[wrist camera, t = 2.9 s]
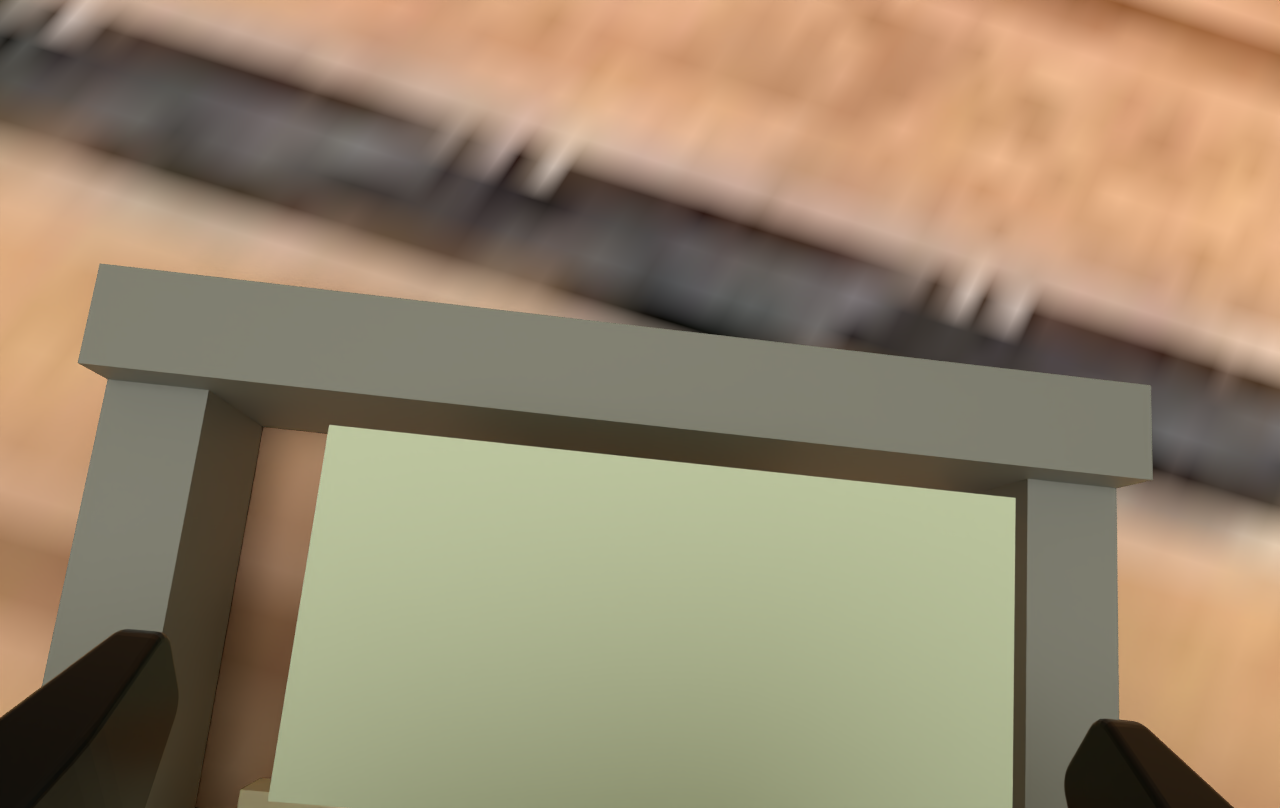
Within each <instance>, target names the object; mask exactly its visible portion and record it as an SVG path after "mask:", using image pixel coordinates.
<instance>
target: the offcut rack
mask: <svg viewBox="0 0 1280 808" xmlns="http://www.w3.org/2000/svg"><path fill="white" fill-rule="evenodd" d="M78 363H79V364H81V365H83V366H84V367H86V368H88V369H90V370H92V371H94V372H95V373H97V374H99V375H101V376H103V377H105V378H106V379H108V381H107V385H106V390H105V395H104V399H103V404H102V409H101V413H100V418H99V423H98V427H97V432H96V437H95V441H94V446H93V451H92V455H91V460H90V465H89V469H88V474H87V478H86V483H85V488H84V492H83V497H82V502H81V506H80V511H79V516H78V520H77V525H76V530H75V534H74V539H73V544H72V548H71V553H70V558H69V562H68V567H67V572H66V576H65V581H64V586H63V590H62V595H61V600H60V604H59V609H58V614H57V618H56V623H55V628H54V632H53V637H52V642H51V646H50V651H49V655H48V660H47V665H46V669H45V674H44V679H43V683H42V686H43V685H45V684H46V683H48V682H49V681H50V680H52V679H53V678H54V677H56V676H57V675H58V674H60V673H61V672H62V671H64V670H65V669H66V668H68V667H69V666H70V665H72V664H73V663H74V662H76V661H77V660H78V659H80V658H81V657H82V656H84V655H85V654H86V653H88V652H89V651H90V650H92V649H93V648H94V647H96V646H97V645H98V644H100V643H101V642H103V641H104V640H105V639H107V638H108V637H109V636H111V635H112V634H114V633H115V632H118V631H120V630H123V629H136V630H147V631H157V632H162V633H164V634H166V635H167V637H168V638H169V640H170V643H171V647H172V653H173V659H174V664H175V670H176V676H177V682H178V687H179V704H178V709H177V714H176V717H175V721H174V724H173V727H172V730H171V733H170V736H169V739H168V742H167V745H166V748H165V751H164V754H163V757H162V760H161V763H160V766H159V769H158V772H157V775H156V778H155V781H154V784H153V787H152V790H151V793H150V796H149V799H148V802H147V805H146V808H195V804H196V799H197V793H198V788H199V782H200V776H201V771H202V765H203V760H204V754H205V748H206V743H207V737H208V731H209V726H210V720H211V715H212V709H213V703H214V698H215V692H216V686H217V681H218V675H219V670H220V664H221V658H222V653H223V647H224V641H225V636H226V630H227V625H228V619H229V613H230V608H231V602H232V597H233V591H234V585H235V580H236V574H237V568H238V563H239V557H240V552H241V546H242V540H243V535H244V529H245V523H246V518H247V512H248V507H249V501H250V495H251V490H252V484H253V479H254V473H255V467H256V462H257V456H258V450H259V445H260V439H261V434H262V428H263V427H270V428H280V429H289V430H299V431H308V432H318V433H327V434H328V429H329V425H336V426H345V427H355V428H364V429H373V430H383V431H392V432H401V433H411V434H420V435H430V436H439V437H448V438H458V439H467V440H477V441H486V442H495V443H505V444H514V445H523V446H533V447H542V448H552V449H561V450H570V451H580V452H589V453H598V454H608V455H617V456H627V457H636V458H645V459H655V460H664V461H673V462H683V463H692V464H702V465H711V466H720V467H730V468H739V469H749V470H758V471H767V472H777V473H786V474H795V475H805V476H814V477H824V478H833V479H842V480H852V481H861V482H870V483H880V484H889V485H899V486H908V487H917V488H927V489H936V490H946V491H955V492H964V493H974V494H983V495H992V496H1002V497H1011V498H1016V509H1015V607H1014V705H1013V804H1012V808H1068V807H1067V802H1066V797H1065V791H1064V779H1065V774H1066V770H1067V767H1068V765H1069V763H1070V762H1071V760H1072V758H1073V756H1074V755H1075V753H1076V751H1077V749H1078V748H1079V746H1080V744H1081V742H1082V741H1083V739H1084V737H1085V735H1086V734H1087V732H1088V730H1089V728H1090V727H1091V725H1092V724H1093V723H1094V722H1096V721H1097V720H1099V719H1104V718H1105V719H1116V720H1119V676H1118V591H1117V505H1116V488H1120V487H1124V486H1129V485H1133V484H1138V483H1142V482H1146V481H1151V480H1153V475H1152V424H1151V386H1150V385H1142V384H1133V383H1125V382H1116V381H1107V380H1099V379H1090V378H1082V377H1073V376H1064V375H1056V374H1047V373H1038V372H1030V371H1021V370H1013V369H1004V368H995V367H987V366H978V365H970V364H961V363H952V362H944V361H935V360H926V359H918V358H909V357H901V356H892V355H883V354H875V353H866V352H858V351H849V350H840V349H832V348H823V347H814V346H806V345H797V344H789V343H780V342H771V341H763V340H754V339H746V338H737V337H728V336H720V335H711V334H702V333H694V332H685V331H677V330H668V329H659V328H651V327H642V326H634V325H625V324H616V323H608V322H599V321H590V320H582V319H573V318H565V317H556V316H547V315H539V314H530V313H522V312H513V311H504V310H496V309H487V308H478V307H470V306H461V305H453V304H444V303H435V302H427V301H418V300H410V299H401V298H392V297H384V296H375V295H366V294H358V293H349V292H341V291H332V290H323V289H315V288H306V287H297V286H289V285H280V284H272V283H263V282H254V281H246V280H237V279H229V278H220V277H211V276H203V275H194V274H185V273H177V272H168V271H160V270H151V269H142V268H134V267H125V266H117V265H108V264H100V265H99V270H98V274H97V279H96V283H95V288H94V292H93V297H92V301H91V306H90V310H89V315H88V319H87V324H86V328H85V333H84V337H83V342H82V346H81V351H80V355H79V360H78ZM270 784H271V779H268V778H260V779H258V780H257V781H255V782H253V783H251V784H250V785H248V786H246V787H244V788H243V789H241V790H240V794H239V800H238V806H237V808H346V807H333V806H321V805H308V804H296V803H283V802H271V801H268V796H269V790H270Z"/></svg>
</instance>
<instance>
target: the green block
mask: <svg viewBox="0 0 1280 808" xmlns="http://www.w3.org/2000/svg"><path fill="white" fill-rule="evenodd" d="M1015 509H1016V498H1011V497H1002V496H992V495H983V494H974V493H964V492H955V491H946V490H936V489H927V488H917V487H908V486H899V485H889V484H880V483H870V482H861V481H852V480H842V479H833V478H824V477H814V476H805V475H795V474H786V473H777V472H767V471H758V470H749V469H739V468H730V467H720V466H711V465H702V464H692V463H683V462H673V461H664V460H655V459H645V458H636V457H627V456H617V455H608V454H598V453H589V452H580V451H570V450H561V449H552V448H542V447H533V446H523V445H514V444H505V443H495V442H486V441H477V440H467V439H458V438H448V437H439V436H430V435H420V434H411V433H401V432H392V431H383V430H373V429H364V428H355V427H345V426H336V425H329V429H328V435H327V441H326V447H325V454H324V460H323V466H322V472H321V478H320V484H319V490H318V496H317V503H316V509H315V515H314V521H313V527H312V533H311V539H310V545H309V552H308V558H307V564H306V570H305V576H304V582H303V588H302V594H301V601H300V607H299V613H298V619H297V625H296V631H295V637H294V643H293V650H292V656H291V662H290V668H289V674H288V680H287V686H286V692H285V698H284V705H283V711H282V717H281V723H280V729H279V735H278V741H277V747H276V754H275V760H274V766H273V772H272V778H271V784H270V790H269V796H268V801H271V802H283V803H296V804H308V805H321V806H333V807H346V808H1012V804H1013V705H1014V607H1015Z"/></svg>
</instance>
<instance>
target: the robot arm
mask: <svg viewBox="0 0 1280 808" xmlns="http://www.w3.org/2000/svg"><path fill="white" fill-rule="evenodd" d="M178 704H179V687H178V682H177V676H176V670H175V664H174V659H173V653H172V647H171V643H170V640H169V638H168V637H167V635H166V634H164V633H162V632H157V631H147V630H136V629H123V630H120V631H118V632H115V633H114V634H112V635H111V636H109V637H108V638H107V639H105V640H104V641H103V642H101V643H100V644H98V645H97V646H96V647H94V648H93V649H92V650H90V651H89V652H88V653H86V654H85V655H84V656H82V657H81V658H80V659H78V660H77V661H76V662H74V663H73V664H72V665H70V666H69V667H68V668H66V669H65V670H64V671H62V672H61V673H60V674H58V675H57V676H56V677H54V678H53V679H52V680H50V681H49V682H48V683H46V684H45V685H43V686H42V687H41V688H39V689H38V690H37V691H35V692H34V693H33V694H31V695H30V696H29V697H27V698H26V699H25V700H23V701H22V702H21V703H19V704H18V705H17V706H15V707H14V708H13V709H11V710H10V711H9V712H7V713H6V714H5V715H3V716H2V717H1V718H0V808H146V805H147V802H148V799H149V796H150V793H151V790H152V787H153V784H154V781H155V778H156V775H157V772H158V769H159V766H160V763H161V760H162V757H163V754H164V751H165V748H166V745H167V742H168V739H169V736H170V733H171V730H172V727H173V724H174V721H175V717H176V714H177V709H178ZM1064 791H1065V797H1066V802H1067V807H1068V808H1234V807H1232V806H1231V805H1230V804H1229V803H1228V802H1227V801H1226V800H1225V799H1224V798H1223V797H1222V796H1221V795H1219V794H1218V793H1217V792H1216V791H1215V790H1214V789H1213V788H1212V787H1211V786H1210V785H1209V784H1208V783H1206V782H1205V781H1204V780H1203V779H1202V778H1201V777H1200V776H1199V775H1198V774H1197V773H1196V772H1194V771H1193V770H1192V769H1191V768H1190V767H1189V766H1188V765H1187V764H1186V763H1185V762H1184V761H1183V760H1181V759H1180V758H1179V757H1178V756H1177V755H1176V754H1175V753H1174V752H1173V751H1172V750H1171V749H1170V748H1168V747H1167V746H1166V745H1165V744H1164V743H1163V742H1162V741H1161V740H1160V739H1159V738H1158V737H1156V736H1155V735H1154V734H1153V733H1152V732H1151V731H1150V730H1149V729H1148V728H1146V727H1145V726H1144V725H1142V724H1140V723H1138V722H1134V721H1127V720H1116V719H1105V718H1104V719H1099V720H1097V721H1096V722H1094V723H1093V724H1092V725H1091V727H1090V728H1089V730H1088V732H1087V734H1086V735H1085V737H1084V739H1083V741H1082V742H1081V744H1080V746H1079V748H1078V749H1077V751H1076V753H1075V755H1074V756H1073V758H1072V760H1071V762H1070V763H1069V765H1068V767H1067V770H1066V774H1065V779H1064Z"/></svg>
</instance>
